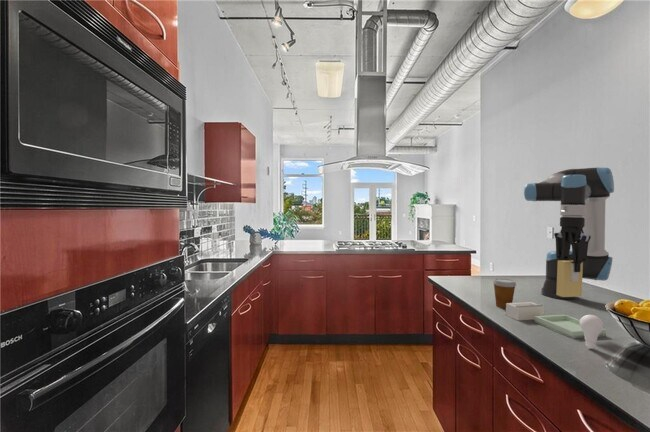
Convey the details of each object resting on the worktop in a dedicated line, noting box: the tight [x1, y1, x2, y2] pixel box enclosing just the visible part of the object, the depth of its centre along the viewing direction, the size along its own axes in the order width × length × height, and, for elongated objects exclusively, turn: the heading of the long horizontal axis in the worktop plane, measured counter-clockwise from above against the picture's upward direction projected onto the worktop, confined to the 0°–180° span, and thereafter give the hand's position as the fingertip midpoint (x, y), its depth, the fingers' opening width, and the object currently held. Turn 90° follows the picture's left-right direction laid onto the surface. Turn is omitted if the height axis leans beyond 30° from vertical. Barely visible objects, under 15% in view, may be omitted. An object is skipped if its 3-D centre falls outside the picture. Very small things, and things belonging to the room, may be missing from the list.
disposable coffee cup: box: [492, 277, 517, 309], centre depth 160 cm, size 10×10×12 cm
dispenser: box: [505, 301, 545, 321], centre depth 145 cm, size 12×7×6 cm, turn 101°
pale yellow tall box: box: [556, 260, 583, 297], centre depth 131 cm, size 8×3×13 cm, turn 101°
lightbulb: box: [579, 314, 604, 350], centre depth 113 cm, size 6×6×11 cm
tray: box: [534, 314, 607, 339], centre depth 132 cm, size 14×17×2 cm
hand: (570, 279), depth 131 cm, fingers closed on pale yellow tall box, 3 cm apart
